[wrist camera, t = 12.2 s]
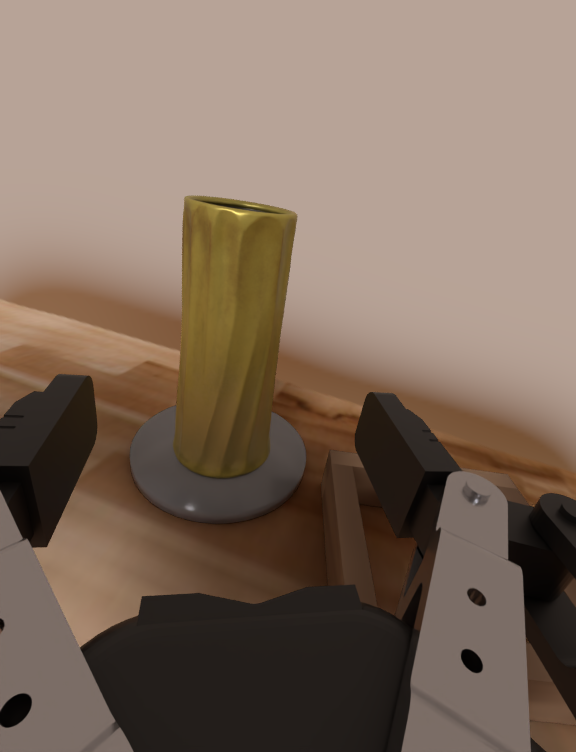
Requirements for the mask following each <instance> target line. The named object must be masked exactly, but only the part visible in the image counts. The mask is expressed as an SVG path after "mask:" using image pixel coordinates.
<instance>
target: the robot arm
mask: <svg viewBox="0 0 576 752" xmlns="http://www.w3.org/2000/svg"><path fill="white" fill-rule="evenodd" d="M96 435H97V417H96V407H95V398H94V389H93V382H92V378H91V377H90V376H84V375H66V374H58V375H57V376H56V377H55V378H54V379H53V381H52V382H51V383H50V384H49V386H48V387H47V388H46V389H45V391H44V392H37V391H34V392H32V393H30V394H29V395H27V396H25V397H23V398H22V399H20V400H18V401H16V402H15V403H14V404H13V405H12V406H11V408H10V409H9V410H8V411H7V412H6V413H5V414H4V418H1V419H0V752H546V751H545V750H544V749H542V748H541V747H540V746H539V745H538V744H537V743H536V742H535V741H534V740H533V739H532V738H531V737H530V723H529V701H528V680H527V658H526V637H527V639H528V640H529V642H530V644H531V645H532V647H533V649H534V650H535V652H536V654H537V656H538V657H539V659H540V661H541V662H542V664H543V666H544V667H545V669H546V671H547V672H548V674H549V676H550V677H551V679H552V681H553V683H554V684H555V686H556V688H557V689H558V691H559V693H560V694H561V696H562V698H563V699H564V701H565V703H566V704H567V706H568V708H569V710H570V711H571V713H572V715H573V716H574V718H575V720H576V607H575V605H574V604H573V603H572V601H571V600H570V599H569V597H568V596H567V595H566V593H565V592H564V590H565V589H566V587H567V586H568V585H569V584H570V582H571V581H572V580H573V579H574V578H575V579H576V501H575V500H573V499H571V498H569V497H566V496H563V495H559V494H554V493H547V494H544V495H542V496H541V498H540V499H539V501H538V502H537V504H536V505H535V507H532V506H528V505H524V504H520V503H516V502H512V501H508V500H506V497H505V496H504V494H503V493H502V492H501V491H500V490H499V489H498V488H497V487H496V486H495V485H494V484H493V483H491V482H490V481H488V480H487V479H485V478H483V477H481V476H479V475H476V474H473V473H470V472H464V471H462V470H461V468H460V467H459V466H458V465H457V463H456V462H455V461H454V459H453V458H452V457H451V456H450V454H449V453H448V452H447V450H446V449H445V448H444V447H443V445H442V444H441V443H440V442H438V439H437V438H436V436H435V435H434V434H433V433H431V430H430V429H429V428H428V426H427V425H426V424H425V423H424V421H423V420H422V419H421V418H419V417H418V416H417V415H415V414H414V413H413V412H411V411H410V410H408V409H405V407H404V406H403V405H402V403H401V402H400V401H399V399H398V398H397V397H396V395H395V394H393V393H376V392H370V393H369V394H367V396H366V399H365V402H364V405H363V408H362V412H361V415H360V419H359V422H358V425H357V429H356V433H355V448H356V451H357V454H358V456H359V458H360V460H361V462H362V464H363V466H364V469H365V471H366V473H367V475H368V477H369V479H370V481H371V484H372V486H373V488H374V490H375V492H376V494H377V497H378V499H379V501H380V503H381V505H382V507H383V509H384V512H385V514H386V516H387V518H388V520H389V522H390V524H391V527H392V529H393V531H394V533H395V535H396V537H397V538H414V539H415V541H416V543H417V544H416V546H415V548H414V550H413V553H412V556H411V560H410V564H409V567H408V571H407V575H406V578H405V582H404V585H403V589H402V593H401V596H400V600H399V603H398V607H397V610H396V613H395V616H394V615H392V614H390V613H389V612H386V611H384V610H382V609H380V608H378V607H375V606H372V605H370V604H367V603H363V602H360V598H359V595H358V592H357V589H356V586H355V584H353V585H335V586H318V587H306V588H303V589H300V590H297V591H294V592H291V593H289V594H286V595H283V596H280V597H277V598H274V599H271V600H268V601H265V602H262V603H259V604H250V603H245V602H240V601H235V600H230V599H225V598H220V597H215V596H210V595H206V594H201V593H193V594H176V595H158V596H142V599H141V605H140V610H139V615H138V616H136V617H133V618H130V619H127V620H125V621H123V622H121V623H118V624H116V625H114V626H112V627H110V628H108V629H107V630H105V631H103V632H101V633H100V634H98V635H97V636H95V637H94V638H92V639H91V640H90V641H88V642H87V643H85V644H84V645H83V646H81V647H79V645H78V643H77V641H76V639H75V637H74V635H73V633H72V630H71V628H70V626H69V624H68V622H67V620H66V618H65V616H64V614H63V612H62V609H61V607H60V605H59V603H58V601H57V599H56V597H55V595H54V593H53V591H52V588H51V586H50V584H49V582H48V580H47V578H46V576H45V574H44V572H43V570H42V567H41V565H40V563H39V561H38V559H37V557H36V555H35V553H34V551H33V549H32V548H33V547H47V546H48V543H49V541H50V539H51V537H52V535H53V533H54V530H55V528H56V526H57V524H58V522H59V520H60V518H61V515H62V513H63V511H64V509H65V507H66V505H67V502H68V500H69V498H70V496H71V494H72V492H73V489H74V487H75V485H76V483H77V481H78V479H79V476H80V474H81V472H82V470H83V468H84V466H85V463H86V461H87V459H88V457H89V455H90V453H91V451H92V448H93V446H94V444H95V440H96ZM525 635H526V636H525Z"/></svg>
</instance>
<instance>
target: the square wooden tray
mask: <svg viewBox="0 0 576 752" xmlns="http://www.w3.org/2000/svg"><path fill="white" fill-rule="evenodd" d="M461 470H462V471H464V472H470V473H473V474H476V475H479V476H481V477H483V478H485V479H487V480H488V481H490V482H491V483H493V484H494V485H495V486H496V487H497V488H498V489H499V490H500V491H501V492H502V493H503V494H504V496H505V497H506V500H508V501H512V502H516V503H520V504H524V505H528V506H529V504H528V503H527V501H526V500H525V498H524V497H523V496H522V494H521V493H520V491H519V490H518V489H517V487H516V486H515V484H514V483H513V481H512V480H511V479H510V477H509V476H508V474H502V473H495V472H487V471H480V470H473V469H466V468H461ZM321 493H322V508H323V523H324V538H325V553H326V568H327V584H328V586H335V585H353V584H355V586H356V589H357V592H358V595H359V598H360V602H363V603H367V604H370V605H372V606H375V607H377V601H376V596H375V590H374V584H373V579H372V573H371V568H370V562H369V557H368V551H367V545H366V540H365V534H364V529H363V523H362V518H361V512H360V506H359V504H362V505H370V506H377V507H382V505H381V503H380V501H379V499H378V497H377V494H376V492H375V490H374V488H373V486H372V484H371V481H370V479H369V477H368V475H367V473H366V471H365V469H364V466H363V464H362V462H361V460H360V458H359V456H358V454H357V453H350V452H343V451H335V450H330V451H329V455H328V459H327V463H326V467H325V471H324V475H323V479H322V483H321ZM564 592H565V593H566V595H567V596H568V597H569V599H570V600H571V601H572V603H573V604H574V605H575V607H576V579H575V578H574V579H573V580H572V581H571V582H570V584H569V585H568V586H567V587H566V589H565V590H564ZM526 658H527V680H528V701H529V720H532V721H541V722H550V723H559V724H569V725H576V720H575V718H574V716H573V715H572V713H571V711H570V710H569V708H568V706H567V704H566V703H565V701H564V699H563V698H562V696H561V694H560V693H559V691H558V689H557V688H556V686H555V684H554V683H553V681H552V679H551V677H550V676H549V674H548V672H547V671H546V669H545V667H544V666H543V664H542V662H541V661H540V659H539V657H538V656H537V654H536V652H535V650H534V649H533V647H532V645H531V644H530V643H526Z"/></svg>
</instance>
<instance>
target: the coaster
mask: <svg viewBox="0 0 576 752" xmlns="http://www.w3.org/2000/svg"><path fill="white" fill-rule="evenodd" d="M175 419H176V405H175V406H172V407H170V408H168V409H165V410H163V411H161V412H160V413H158V414H156V415H154V416H153V417H152V418H150V419H149V420H148V421H147V422H146V423H145V424H144V425H142V426H141V428H140V429H139V430H138V432H137V433H136V435H135V437H134V439H133V441H132V444H131V447H130V467H131V474H132V477H133V480H134V483H135V484H136V486H137V488H138V489H139V491H140V492H141V493H142V494H143V496H144V497H145V498H146V499H147V500H149V501H150V502H151V503H152V504H153V505H155V506H156V507H158V508H160V509H161V510H163V511H165V512H167V513H169V514H172V515H174V516H176V517H180V518H183V519H186V520H190V521H196V522H201V523H214V524H219V523H234V522H241V521H246V520H250V519H253V518H257V517H259V516H262V515H264V514H267V513H269V512H271V511H273V510H274V509H276V508H278V507H279V506H281V505H282V504H283V503H285V502H286V501H287V500H288V499H289V498H290V497H291V496H292V495H293V494H294V492H295V491H296V490H297V488H298V486H299V484H300V482H301V480H302V477H303V473H304V469H305V464H306V450H305V446H304V443H303V441H302V439H301V437H300V435H299V434H298V432H297V431H296V430H295V429H294V427H293V426H292V425H291V424H290V423H288V422H287V421H286V420H285V419H283V418H282V417H280V416H279V415H278V414H276V413H274V412H272V413H271V423H270V432H269V437H270V453H269V456H268V458H267V459H266V461H265V462H264V463H263V464H262V465H261V466H260V467H259V468H257V469H256V470H254V471H252V472H250V473H247V474H244V475H241V476H237V477H232V478H213V477H207V476H203V475H200V474H197V473H195V472H193V471H191V470H189V469H188V468H186V467H185V466H184V465H182V464H181V463H180V462H179V460H178V459H177V457H176V455H175V452H174V449H173V440H174V436H175Z"/></svg>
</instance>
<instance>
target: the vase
mask: <svg viewBox="0 0 576 752" xmlns="http://www.w3.org/2000/svg"><path fill="white" fill-rule="evenodd" d="M296 222H297V214H296V213H295V212H292V211H289V210H286V209H283V208H278V207H273V206H269V205H264V204H258V203H252V202H246V201H240V200H234V199H226V198H218V197H206V196H186V197H185V198H184V212H183V238H182V242H183V243H182V335H181V351H180V366H179V378H178V390H177V404H176V419H175V436H174V440H173V449H174V452H175V455H176V457H177V459H178V460H179V462H180V463H181V464H182V465H184V466H185V467H186V468H188V469H189V470H191V471H193V472H195V473H197V474H200V475H203V476H207V477H213V478H232V477H237V476H241V475H244V474H247V473H250V472H252V471H254V470H256V469H257V468H259V467H260V466H261V465H262V464H263V463H264V462H265V461H266V459H267V458H268V456H269V453H270V437H269V432H270V423H271V413H272V402H273V393H274V384H275V375H276V367H277V359H278V351H279V343H280V334H281V327H282V320H283V314H284V307H285V300H286V293H287V285H288V279H289V272H290V264H291V263H290V262H291V255H292V248H293V241H294V235H295V229H296Z"/></svg>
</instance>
